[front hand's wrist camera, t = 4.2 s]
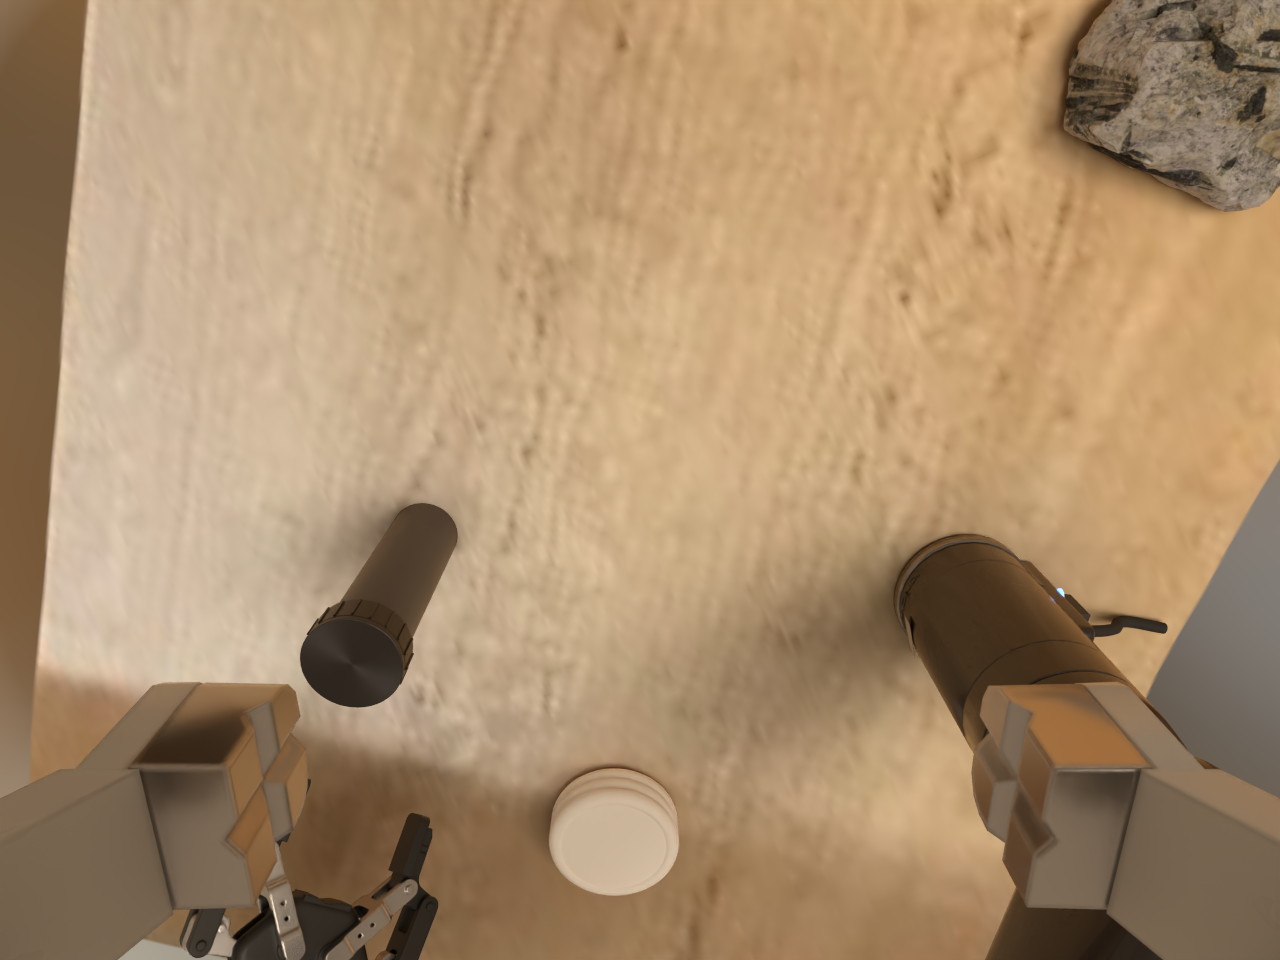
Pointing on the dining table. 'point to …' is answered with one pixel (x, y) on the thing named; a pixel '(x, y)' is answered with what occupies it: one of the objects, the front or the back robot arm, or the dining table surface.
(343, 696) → the lid
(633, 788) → the cream short cylinder
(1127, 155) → the rock
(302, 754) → the front robot arm
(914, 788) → the dining table surface
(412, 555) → the brown cylindrical canister
